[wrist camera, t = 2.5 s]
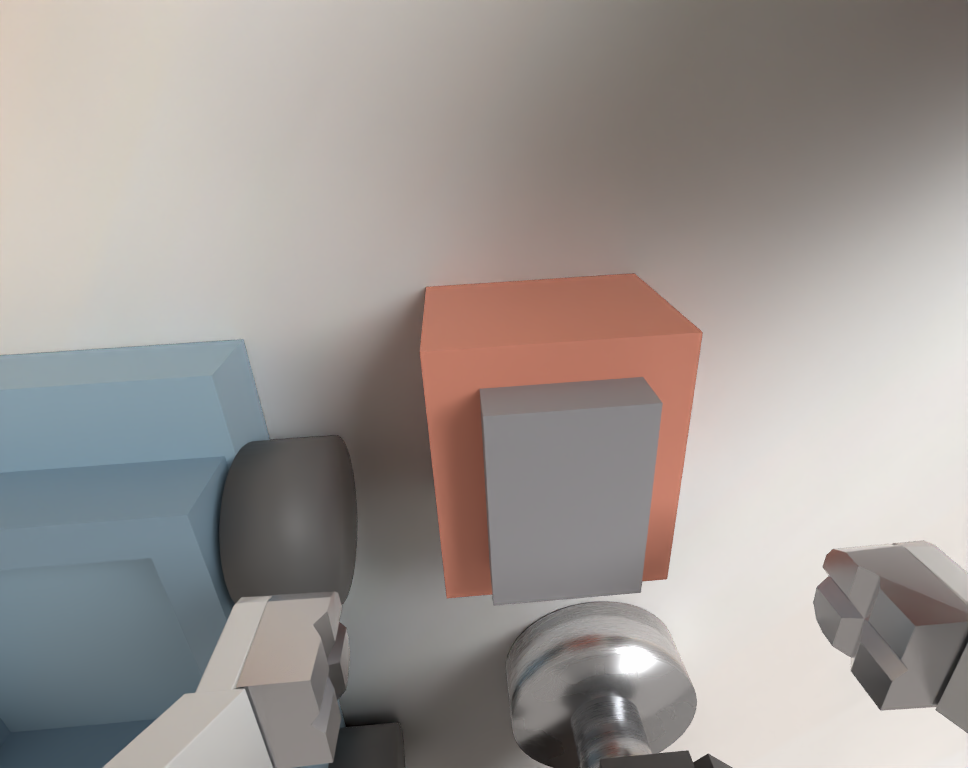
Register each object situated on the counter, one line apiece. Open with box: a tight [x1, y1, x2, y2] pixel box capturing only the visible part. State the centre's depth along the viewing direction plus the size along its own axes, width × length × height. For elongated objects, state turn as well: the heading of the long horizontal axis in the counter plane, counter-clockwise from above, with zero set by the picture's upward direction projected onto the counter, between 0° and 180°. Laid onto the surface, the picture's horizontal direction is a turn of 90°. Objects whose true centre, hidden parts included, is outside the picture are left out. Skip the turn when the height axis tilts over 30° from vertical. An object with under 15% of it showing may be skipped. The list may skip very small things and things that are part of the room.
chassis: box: [0, 339, 405, 768], centre depth 16 cm, size 20×14×4 cm
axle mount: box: [506, 602, 697, 768], centre depth 17 cm, size 6×6×5 cm
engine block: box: [420, 273, 703, 605], centre depth 12 cm, size 6×5×5 cm
